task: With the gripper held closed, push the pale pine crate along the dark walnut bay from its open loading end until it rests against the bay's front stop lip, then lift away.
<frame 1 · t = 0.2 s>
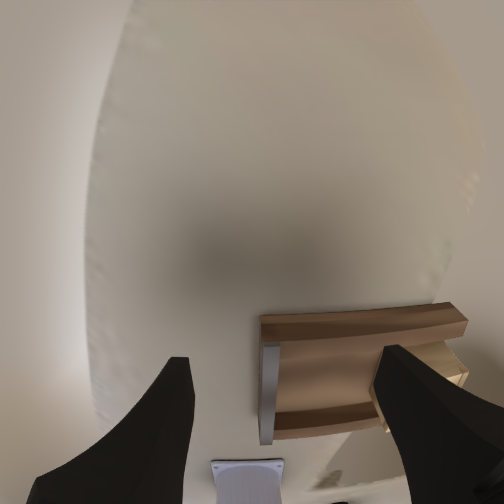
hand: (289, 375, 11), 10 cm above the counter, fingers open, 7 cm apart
crate: (417, 384, 20), point 3 cm above the counter, slide at 0.0 cm
bay: (355, 365, 23), on the counter
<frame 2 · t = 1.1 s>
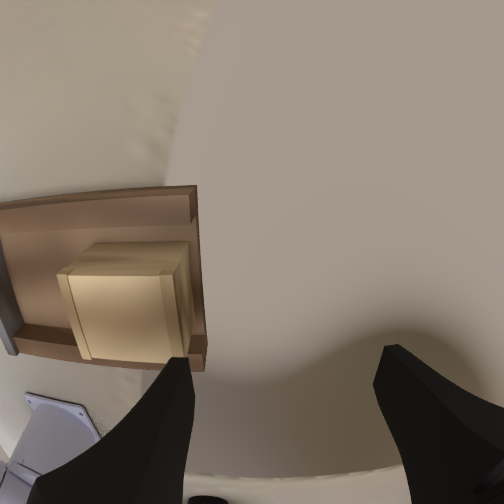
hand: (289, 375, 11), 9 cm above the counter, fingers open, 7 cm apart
crate: (132, 300, 16), point 3 cm above the counter, slide at 0.0 cm
cup: (208, 501, 32), on the counter
bay: (87, 273, 19), on the counter
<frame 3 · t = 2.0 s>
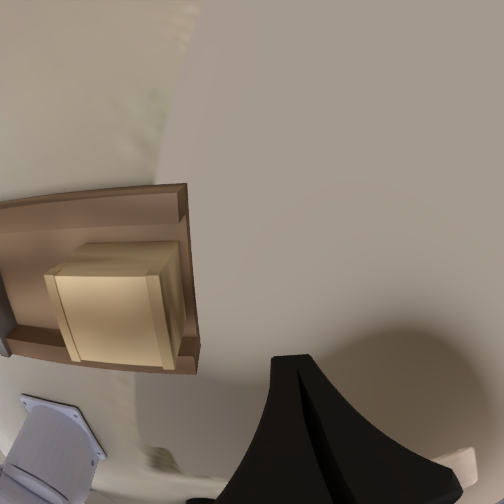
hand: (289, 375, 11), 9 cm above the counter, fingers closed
crate: (121, 301, 15), point 3 cm above the counter, slide at 0.0 cm
cup: (205, 503, 32), on the counter
bay: (78, 274, 18), on the counter
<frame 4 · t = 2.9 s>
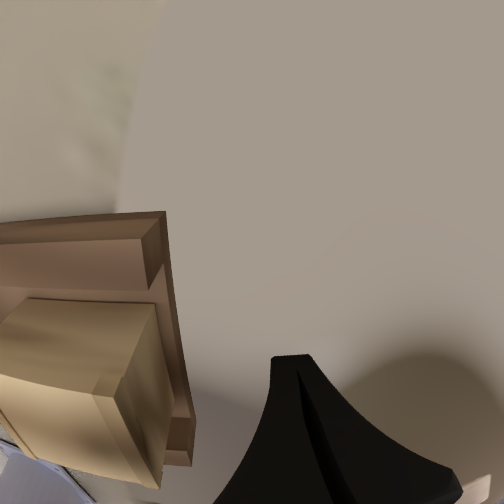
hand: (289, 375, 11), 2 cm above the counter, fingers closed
crate: (77, 391, 9), point 3 cm above the counter, slide at 0.0 cm
bay: (31, 330, 12), on the counter
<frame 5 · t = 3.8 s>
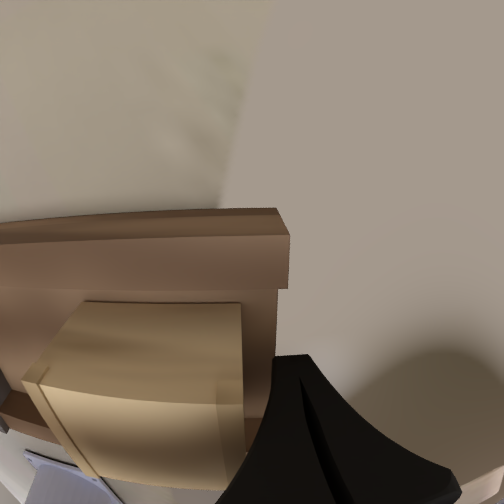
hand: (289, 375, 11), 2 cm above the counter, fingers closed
crate: (154, 400, 9), point 3 cm above the counter, slide at 0.8 cm, touching gripper
bay: (92, 336, 12), on the counter
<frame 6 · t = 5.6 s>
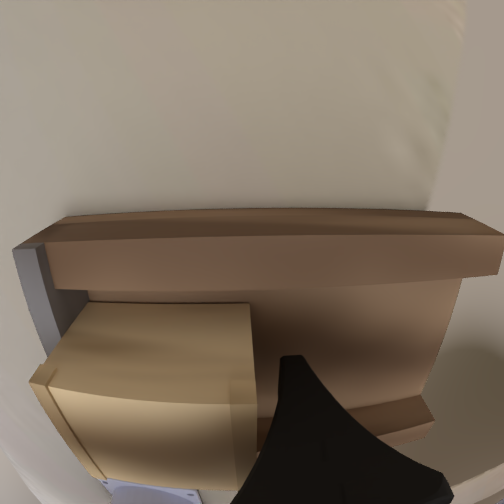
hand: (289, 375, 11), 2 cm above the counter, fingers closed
crate: (162, 401, 9), point 3 cm above the counter, slide at 8.5 cm, touching bay, gripper
bay: (273, 340, 13), on the counter
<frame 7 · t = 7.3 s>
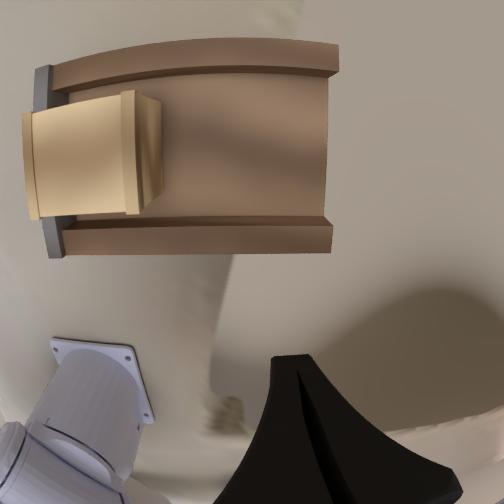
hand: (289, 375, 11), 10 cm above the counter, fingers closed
crate: (95, 154, 13), point 3 cm above the counter, slide at 8.5 cm, touching bay
bay: (183, 145, 17), on the counter
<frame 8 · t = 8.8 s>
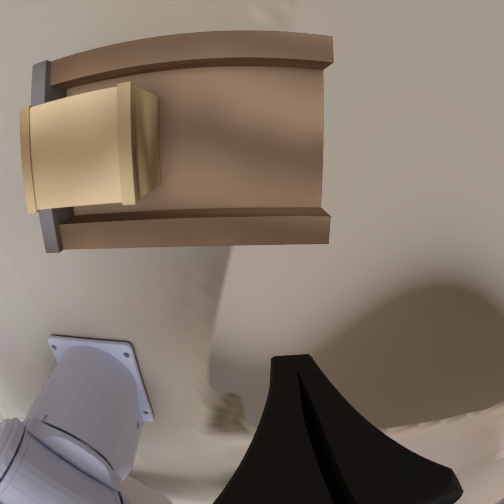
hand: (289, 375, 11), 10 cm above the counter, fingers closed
crate: (91, 147, 13), point 3 cm above the counter, slide at 8.5 cm, touching bay
bay: (180, 138, 17), on the counter
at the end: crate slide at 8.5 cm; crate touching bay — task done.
